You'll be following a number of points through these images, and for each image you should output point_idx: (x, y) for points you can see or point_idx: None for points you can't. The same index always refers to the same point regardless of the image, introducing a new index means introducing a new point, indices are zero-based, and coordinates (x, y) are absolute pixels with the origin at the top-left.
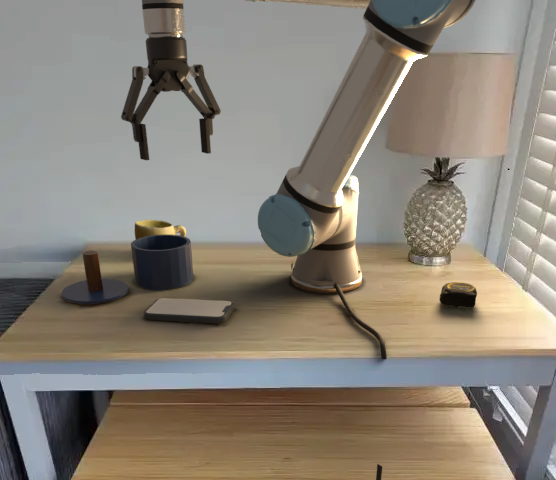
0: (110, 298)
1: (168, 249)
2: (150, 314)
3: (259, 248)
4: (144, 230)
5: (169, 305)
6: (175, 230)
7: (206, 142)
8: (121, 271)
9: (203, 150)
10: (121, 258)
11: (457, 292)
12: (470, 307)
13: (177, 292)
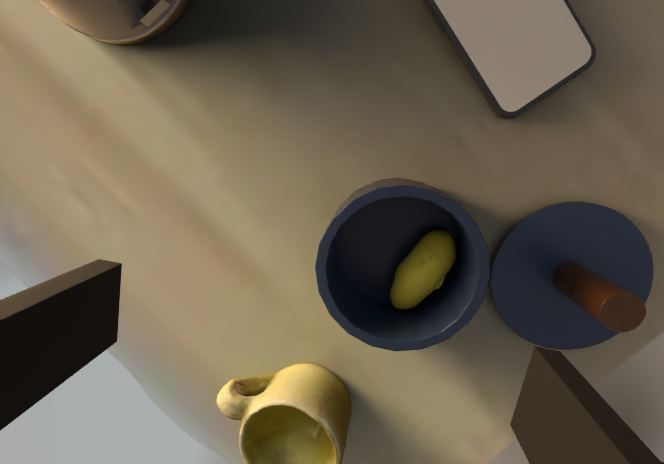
0: (584, 202)
1: (429, 197)
2: (590, 41)
3: None
4: (336, 428)
5: (526, 53)
6: (249, 400)
7: (72, 294)
8: (429, 364)
9: (109, 322)
10: (375, 438)
11: None
12: None
13: (425, 155)
